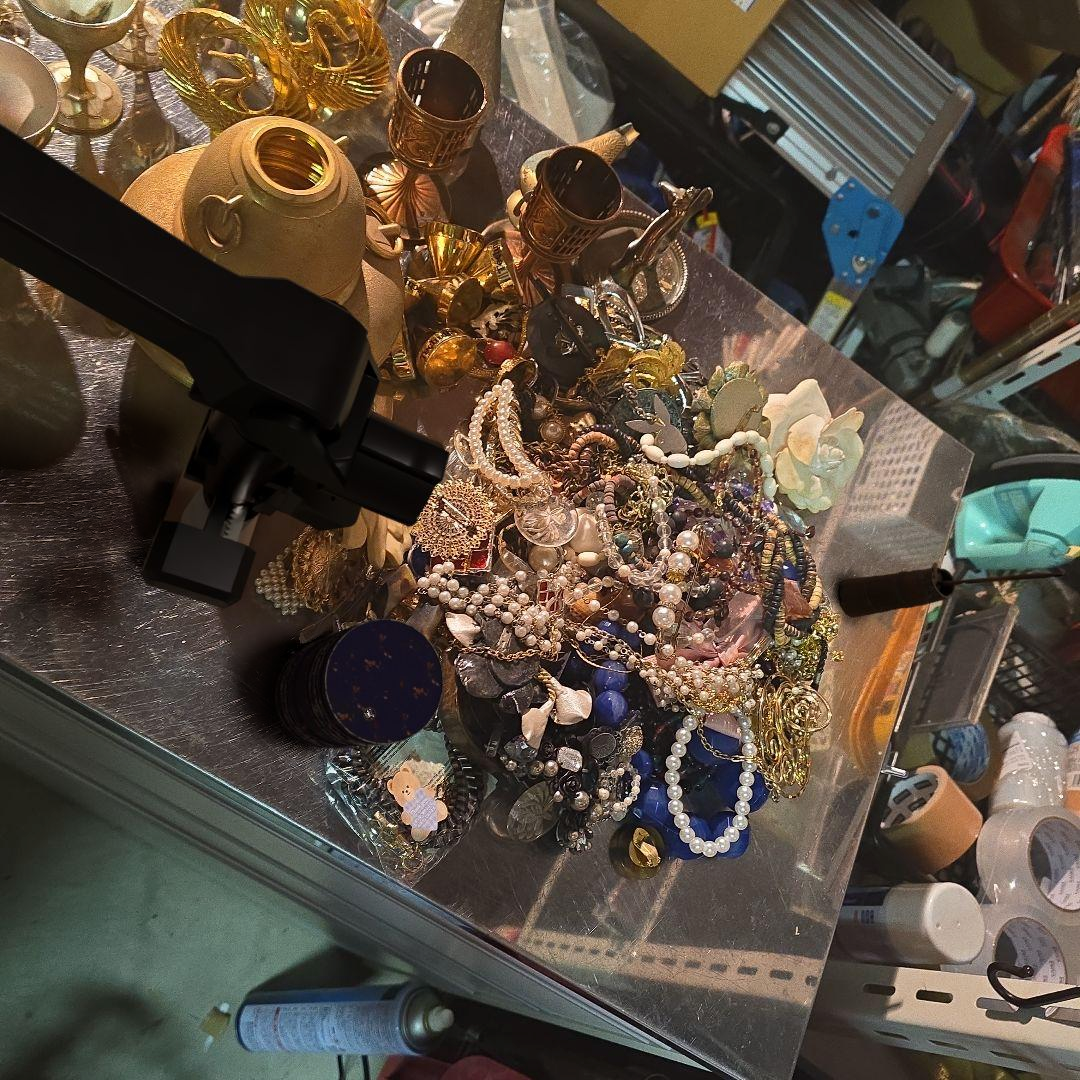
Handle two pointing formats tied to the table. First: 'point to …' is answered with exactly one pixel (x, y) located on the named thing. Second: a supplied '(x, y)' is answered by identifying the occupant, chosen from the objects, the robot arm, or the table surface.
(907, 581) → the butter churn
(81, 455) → the table surface
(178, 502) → the tan square box
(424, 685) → the storage jar
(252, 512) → the planter
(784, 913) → the table surface
